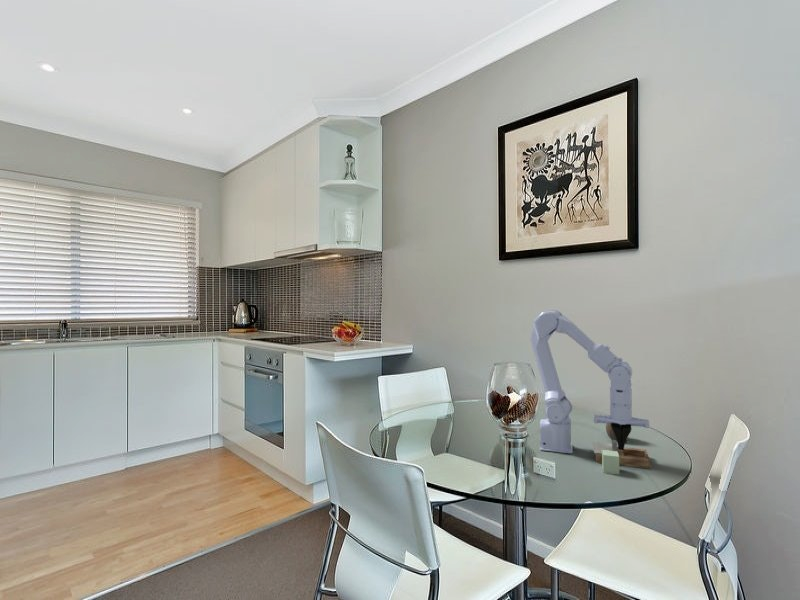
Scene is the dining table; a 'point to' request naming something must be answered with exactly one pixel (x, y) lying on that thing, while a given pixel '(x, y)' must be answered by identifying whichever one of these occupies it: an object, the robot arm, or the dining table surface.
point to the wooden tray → (630, 458)
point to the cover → (604, 447)
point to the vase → (610, 432)
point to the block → (610, 462)
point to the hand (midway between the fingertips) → (620, 448)
